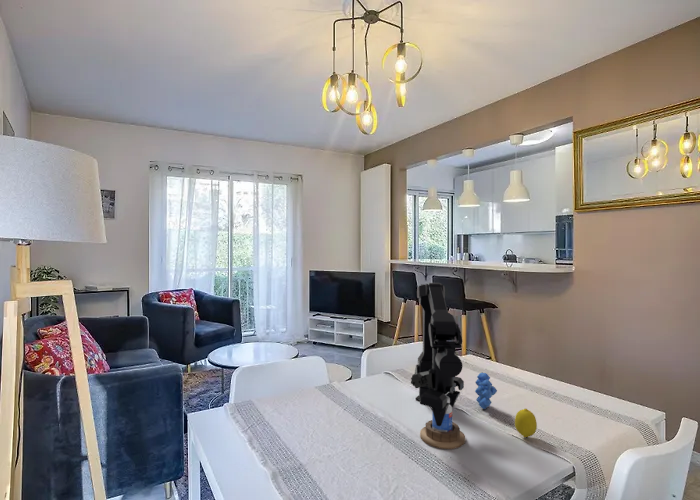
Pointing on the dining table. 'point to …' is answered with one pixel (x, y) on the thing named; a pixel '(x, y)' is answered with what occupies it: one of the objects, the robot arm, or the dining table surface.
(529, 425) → the lemon
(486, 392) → the grapes
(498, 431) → the dining table surface
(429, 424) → the socket
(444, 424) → the pill bottle
